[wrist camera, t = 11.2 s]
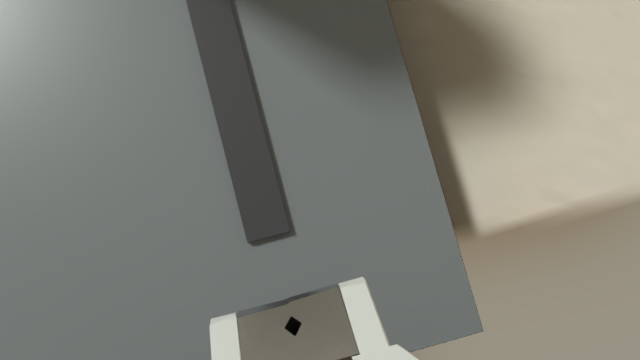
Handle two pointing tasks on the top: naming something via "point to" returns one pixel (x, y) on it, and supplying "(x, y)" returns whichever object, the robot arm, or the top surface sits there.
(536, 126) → the top surface
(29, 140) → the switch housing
